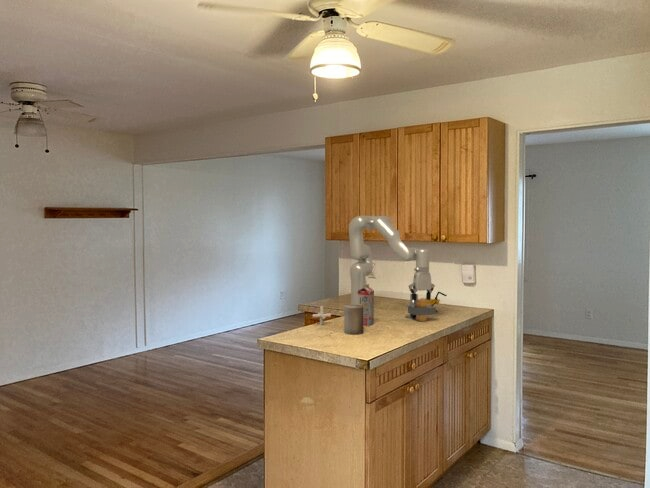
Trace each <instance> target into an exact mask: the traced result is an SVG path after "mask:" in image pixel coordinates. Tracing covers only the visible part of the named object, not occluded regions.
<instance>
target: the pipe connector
mask: <svg viewBox="0 0 650 488" xmlns="http://www.w3.org/2000/svg"><path fill="white" fill-rule="evenodd" d="M311 316H312V318H313V319H314V318H319V325H320V326H324V319H326V318H331V317H332V314H331V313H324V306H323V305H320V306H319V311H318V312H317V313H313V314H312V315H311Z"/></svg>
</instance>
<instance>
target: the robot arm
mask: <svg viewBox="0 0 650 488" xmlns="http://www.w3.org/2000/svg"><path fill="white" fill-rule="evenodd" d="M392 220H393V219H391V217H389V216H386V215H357V216H355V217H353V218H352V219H351V220H350V222H349V224H348V234H349V237H348V238H349V249H350V250H349V251H350V257H351V258H352V259H353V260H356V262H354V263H353V264H351V266H350V269H349V276H350V305H352V304H354V305H358V291H359V290H361V289H363V285H367V278H366V277H368V276H370V275H371V274H372V273H373V258H372V257H373V256H372V250H371V247H370V246H369V245H367V244H365V242H364V235H363V231H364V230H369V231H370V230H372V231H373V230H374V231H375V230H376V231H378V233H380V234H381V236H382V237H383V238H384V239H385V240H386V241H387V242H388V244H389V246H390V248H391V249H392V250H393V252H394V253H395V255H397V256H398V258H400V260H403V261H404V262H410V261H415V268H414V269H413V271H414V275H413V277H412V278H413V279H412V283H411V284H409V285H408V286H407V287H408V289H409V291H410V294H412V300H414V301H416V294H417V292H418V291H426V296H425V298H426V299H428V300H430V299H432V297H431V296H432V292H433V291H434V288H435V287H436V285H435V284H434V283H432V276H431V272H430V253H431V252H430V249H429V248H417V247H408V246H407V245H406V244H405V242H403V241H402V239H401V236H400V232H399V230H398V229H397V228H396V227H395V226H394V225H393V221H392ZM342 311H344V312H345V308H344V307H343V310H342Z"/></svg>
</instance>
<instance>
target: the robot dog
mask: <svg viewBox="0 0 650 488" xmlns="http://www.w3.org/2000/svg"><path fill="white" fill-rule="evenodd" d="M439 295H442V296H444V297H447V294H446V293H443V292H441V291H437V293H436V295H435V297H434V298H430V300H428V299H426V297H421V298H420V299H425V300H427V304H429V306H432V307H434V306H435V305H440V302H441V300H440V299H439V298H438V296H439ZM436 313H438V310H437V309H436Z"/></svg>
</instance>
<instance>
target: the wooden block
mask: <svg viewBox="0 0 650 488" xmlns="http://www.w3.org/2000/svg"><path fill="white" fill-rule="evenodd" d="M427 305H428V303H427V300H425V299H421V298H418V299H417V307H427ZM415 320H416V321H418V322H426V321H427V315H421V316H416V319H415Z"/></svg>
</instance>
